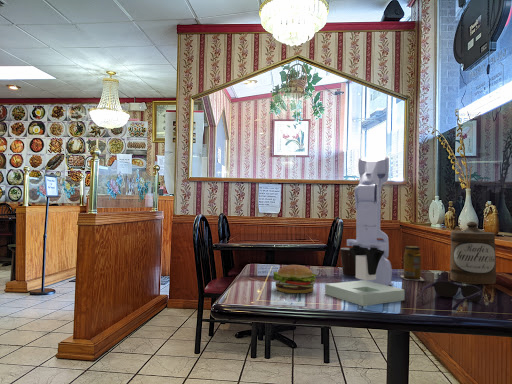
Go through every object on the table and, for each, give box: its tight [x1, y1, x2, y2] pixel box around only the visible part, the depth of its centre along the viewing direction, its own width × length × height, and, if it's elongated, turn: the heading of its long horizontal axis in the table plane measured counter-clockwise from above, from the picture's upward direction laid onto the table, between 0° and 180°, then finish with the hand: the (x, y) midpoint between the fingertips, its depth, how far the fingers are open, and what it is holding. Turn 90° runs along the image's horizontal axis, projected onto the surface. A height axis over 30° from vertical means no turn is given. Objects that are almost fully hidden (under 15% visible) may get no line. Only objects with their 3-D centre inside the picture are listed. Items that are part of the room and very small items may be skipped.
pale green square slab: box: [324, 279, 405, 307], centre depth 117 cm, size 16×16×3 cm
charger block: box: [355, 255, 376, 280], centre depth 113 cm, size 4×4×6 cm
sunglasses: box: [421, 280, 483, 311], centre depth 112 cm, size 14×16×5 cm
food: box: [273, 264, 318, 295], centre depth 126 cm, size 14×14×8 cm
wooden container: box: [449, 221, 497, 285], centre depth 147 cm, size 15×15×22 cm
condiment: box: [400, 245, 425, 282], centre depth 150 cm, size 7×8×12 cm
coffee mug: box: [340, 247, 356, 277], centre depth 156 cm, size 12×9×10 cm
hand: (366, 273), depth 113 cm, fingers closed on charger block, 4 cm apart
